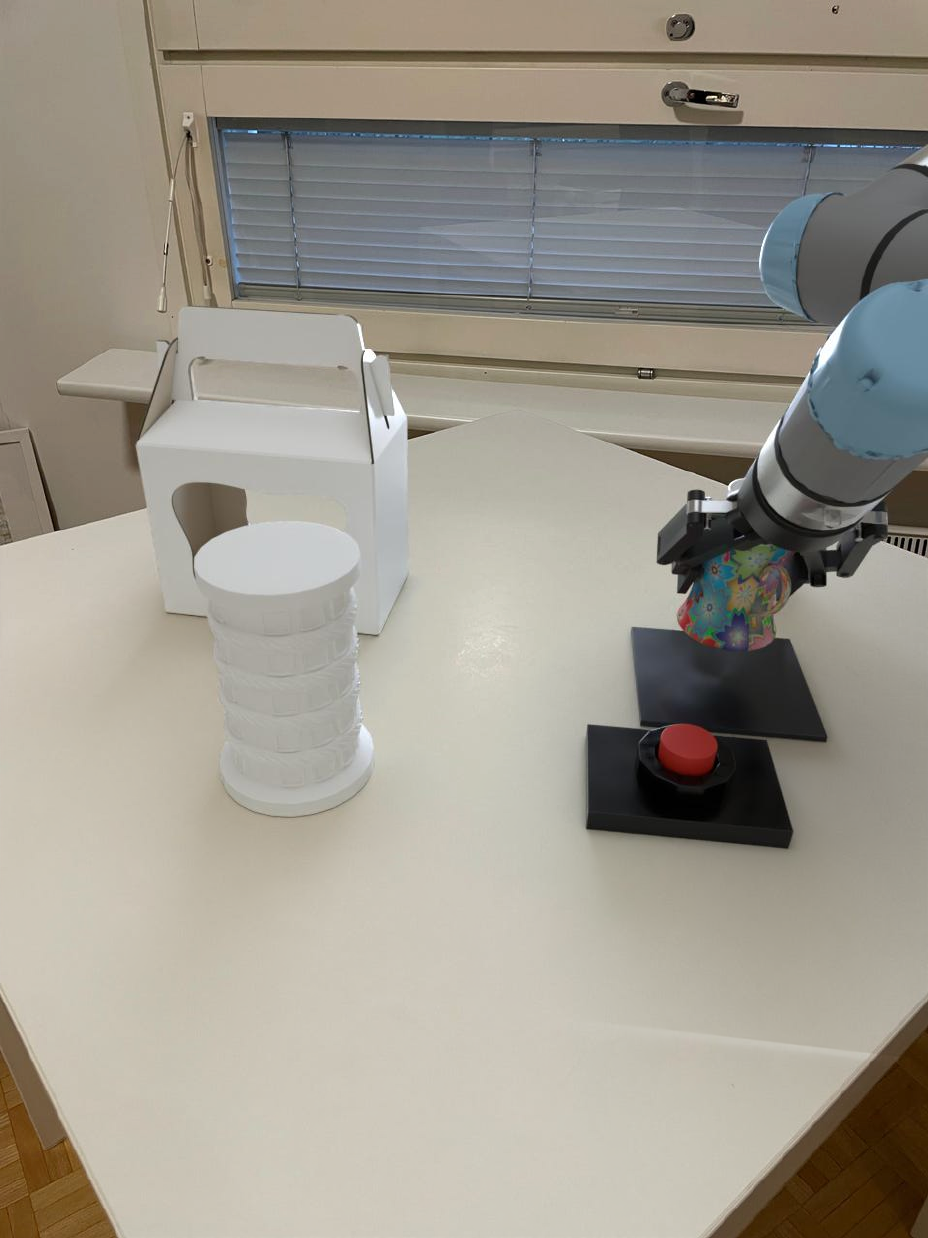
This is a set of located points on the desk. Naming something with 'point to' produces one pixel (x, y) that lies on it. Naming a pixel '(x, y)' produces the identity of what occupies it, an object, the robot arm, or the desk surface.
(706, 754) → the button
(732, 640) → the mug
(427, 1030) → the desk surface
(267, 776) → the decorative container
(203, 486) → the gable box
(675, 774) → the control block
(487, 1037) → the desk surface
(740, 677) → the plate
